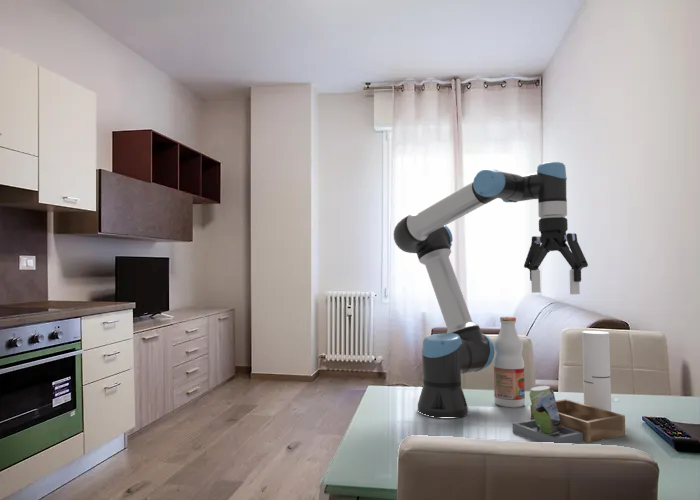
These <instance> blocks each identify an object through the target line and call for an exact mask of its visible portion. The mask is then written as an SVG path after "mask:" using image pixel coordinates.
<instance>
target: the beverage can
mask: <svg viewBox="0 0 700 500" xmlns="http://www.w3.org/2000/svg"><path fill="white" fill-rule="evenodd" d="M529 398H530V405H532V408H533V413H534V418H535V422H536V427H537V431H539V432H542V433H545V434H547V435H554V434H557V433H559V431H560V430H561V429H562V427H561V423H560V418H559V414H558V409H557V405H556V401H557V400H556V397H555V393H554V390H553V389H551V386H549V385H538V386H533V387H531V388H530V391H529Z"/></svg>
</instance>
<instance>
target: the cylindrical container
mask: <svg viewBox="0 0 700 500" xmlns="http://www.w3.org/2000/svg"><path fill="white" fill-rule="evenodd" d="M581 337H582V338H581V342H582V343H581V344H582V347H581V348H582V376H583V377H582V380H583V381H582V382H583V385H582V386H583V404H585V405H589V406H592V407H596V408H600V409H603V410H607V411H610V412H612V387H611V385H612V383H611V382H612V381H611V380H612V379H611V357H610V356H611V355H610V354H611V353H610V351H611V348H610V332H608V331H604V330H603V331H602V330H601V331H600V330H583V331H581Z"/></svg>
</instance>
